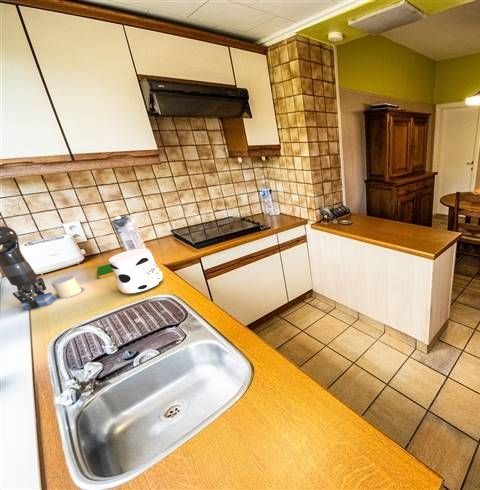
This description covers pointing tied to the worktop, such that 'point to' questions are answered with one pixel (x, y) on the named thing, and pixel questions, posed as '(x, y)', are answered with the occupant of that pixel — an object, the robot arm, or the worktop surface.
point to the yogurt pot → (66, 286)
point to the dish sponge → (104, 271)
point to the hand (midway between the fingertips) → (40, 303)
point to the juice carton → (128, 232)
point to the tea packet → (40, 300)
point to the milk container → (135, 271)
